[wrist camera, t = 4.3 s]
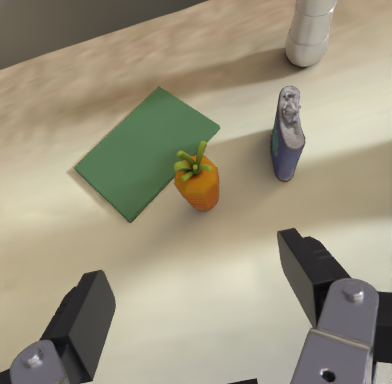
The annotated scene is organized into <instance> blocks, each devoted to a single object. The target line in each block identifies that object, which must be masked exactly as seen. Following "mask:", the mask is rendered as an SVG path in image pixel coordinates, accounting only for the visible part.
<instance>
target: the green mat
mask: <svg viewBox="0 0 392 384" xmlns="http://www.w3.org/2000/svg"><path fill="white" fill-rule="evenodd" d="M219 129H220V126H219V125H218V124H216V123H215V122H213V121H212V120H210V119H209V118H207V117H205V116H204V115H202V114H201V113H199V112H198V111H196V110H195V109H193V108H192V107H190V106H188V105H187V104H185V103H184V102H182V101H181V100H179V99H178V98H176V97H175V96H173V95H172V94H170V93H168V92H167V91H165V90H164V89H162V88H161V87H158V88H157V89H156V90H155V91H154V92H153V93H152V94H151V95H149V96H148V97H147V98H146V99H145V100H144V101H143V102H142V103H141V104H140V105H139V106H138V107H137V108H136V109H135V110H134V111H133V112H132V113H131V114H130V115H129V116H127V117H126V118H125V119H124V120H123V121H122V122H121V123H120V124H119V125H118V126H117V127H116V128H115V129H114V130H113V131H112V132H111V133H110V134H109V135H108V136H107V137H106V138H104V139H103V140H102V141H101V142H100V143H99V144H98V145H97V146H96V147H95V148H94V149H93V150H92V151H91V152H90V153H89V154H88V155H87V156H86V157H85V158H84V159H82V160H81V161H80V162H79V163H78V164H77V165H76V166H75V167H74V169H76V170H77V171H78V172H79V173H80V174H81V175H82V176H83V177H84V178H85V179H86V180H87V181H88V182H89V183H90V184H91V185H92V186H93V187H94V188H95V189H96V190H97V191H98V192H99V193H100V194H101V195H102V196H103V197H104V198H105V199H107V200H108V201H109V202H110V203H111V204H112V205H113V206H114V207H115V208H116V209H117V210H118V211H119V212H120V213H121V214H122V215H123V216H124V217H125V218H126V219H127V220H128V221H129V222H132V221H133V220H134V219H135V218H136V217H137V216H138V215H139V214H140V213H141V212H142V211H143V209H144V208H145V207H146V206H147V205H148V204H149V203H150V202H151V201H152V200H153V199H154V198H155V197H156V196H157V195H158V194H159V193H160V192H161V190H162V189H163V188H164V187H165V186H166V185H167V184H168V183H169V182H170V181H171V180H172V179H173V178H174V177H175V173H176V170H175V169H174V164H175V163H176V162H179V161H181V162H182V161H183V159H181V158H179V157H178V156H177V155H176V154H177V153H178V151H180V150H181V151H184V152H185V153H187V154H189V155H190V156H195V155H196V154H197V150H198V147H199V144H200V142H201V141H205V142H208V141H209V140H210V139H211V138H212V137H213V136H214V135H215V134H216V133H217V132H218V130H219Z"/></svg>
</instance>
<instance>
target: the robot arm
mask: <svg viewBox="0 0 392 384" xmlns="http://www.w3.org/2000/svg"><path fill="white" fill-rule="evenodd" d="M277 238H278V245H279V253H280V260H281V265H282V268H283V271H284V274H285V276H286V278H287V280H288V281H289V283H290V285H291V287H292V289H293V291H294V293H295V295H296V297H297V298H298V300H299V302H300V304H301V306H302V308H303V310H304V312H305V314H306V315H307V317H308V319H309V321H310V323H311V325H312V327H313V328H311V329H310V330H309V332H308V334H307V337H306V340H305V343H304V346H303V349H302V351H301V354H300V357H299V360H298V363H297V366H296V368H295V371H294V374H293V377H292V380H291V383H290V384H376V375H377V366H378V362H384V363H392V293H390V292H378V291H376V289H375V288H374V287H373V286H372V285H370V284H368V283H367V282H365V281H362V280H358V279H353V278H351V277H350V276H349V274H348V273H347V272H346V271H345V270H344V269H343V267H342V266H341V265H340V264H339V263H338V262H337V261H336V259H335V258H334V257H332V255H331V254H330V253H329V251H328V250H326V248H325V247H324V246H323V244H322V243H321V242H320V241H318V240H316V239H314V238H312V237H310V236H309V237H304V238H302V237H301V235H300V234H299V233H298V231H297V230H296V229H295V228H291V229H286V230H282V231H278V232H277ZM115 306H116V304H115V297H114V295H113V292H112V290H111V287H110V285H109V283H108V280H107V278H106V275H105V273H104V272H103V271H102V270H98V271H93V272H88V273H85V274H83V276H82V278H81V280H80V281H79V283H78V285H77V286H76V287H74V288H73V289H72V290H71V291H70V292H69V293H68V294H67V295H66V296H65V297H64V299H63V300H62V302H61V304H60V307H58V309H57V311H56V313H55V315H54V316H53V318H52V319H51V321H50V323H49V325H48V326H47V328H46V330H45V332H44V333H43V335H42V337H41V338H40V340H39V341H38V342H35V343H33V344H31V345H30V346H28V347H27V348H25V349H24V350H23V351H22V352H21V353H20V354H19V355H18V356H17V357H16V358H15V359H14V361H13V362H12V364H11V367H10V369H7V370H5V371H3V372H1V373H0V384H81V383H86V382H91V381H93V378H94V375H95V372H96V369H97V366H98V362H99V359H100V356H101V353H102V350H103V347H104V344H105V340H106V337H107V334H108V331H109V328H110V325H111V321H112V318H113V315H114V312H115ZM229 384H258V382H257V378H255V379H250V380H245V381H240V382H234V383H229Z"/></svg>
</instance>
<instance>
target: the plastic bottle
mask: <svg viewBox="0 0 392 384" xmlns="http://www.w3.org/2000/svg"><path fill="white" fill-rule="evenodd" d="M336 3H337V0H296V6H295V12H294V16H293V20H292V24H291V28H290V30H289V32H288V35H287V39H286V43H285V48H286V55H287V57H288V59H289V60H290V61H291V62H292V63H293V64H295V65H297V66H302V67H306V66H311V65H313V64H315V63H316V62H318V61H319V60H320V59H321V58H322V57H323V55H324V54H325V52H326V50H327V47H328V43H329V36H330V27H331V22H332V17H333V12H334V9H335V6H336Z"/></svg>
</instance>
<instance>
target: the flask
mask: <svg viewBox="0 0 392 384" xmlns="http://www.w3.org/2000/svg"><path fill="white" fill-rule="evenodd" d="M299 98H300V91H299V90H298V89H297V88H296V87H294V86H287V87H285V88H283V89H282V90H281V92H280V95H279V100H278V106H277V112H276V118H275V123H274V127H273V131H272V135H271V142H270V143H271V145H270V146H271V147H270V149H271V156H272V162H273V167H274V171H275V174H276V176H277V178H279V180H281V181H283V180H284V181H288V180H291V178H292V177H293V176H294V172H295V169H296V166H297V163H298V160H299V157H300V155H301V153H302V150H303V147H304V145H305V136H304V134H303V131H302V128H301V124H300V118H299V111H300V108H301V106H300V105H299Z"/></svg>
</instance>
